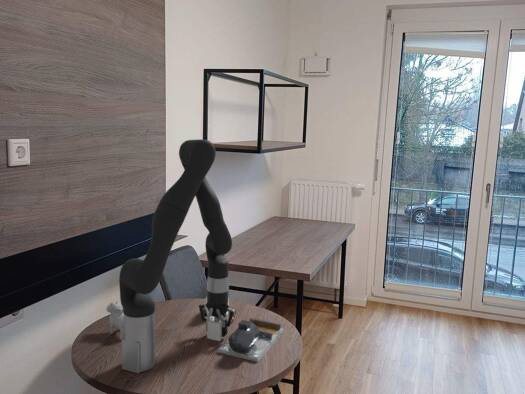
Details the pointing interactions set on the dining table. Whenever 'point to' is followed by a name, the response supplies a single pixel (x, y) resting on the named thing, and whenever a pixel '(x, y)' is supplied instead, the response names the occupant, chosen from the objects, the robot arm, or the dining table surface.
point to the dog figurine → (116, 318)
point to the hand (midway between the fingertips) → (216, 334)
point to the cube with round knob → (214, 329)
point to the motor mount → (252, 339)
